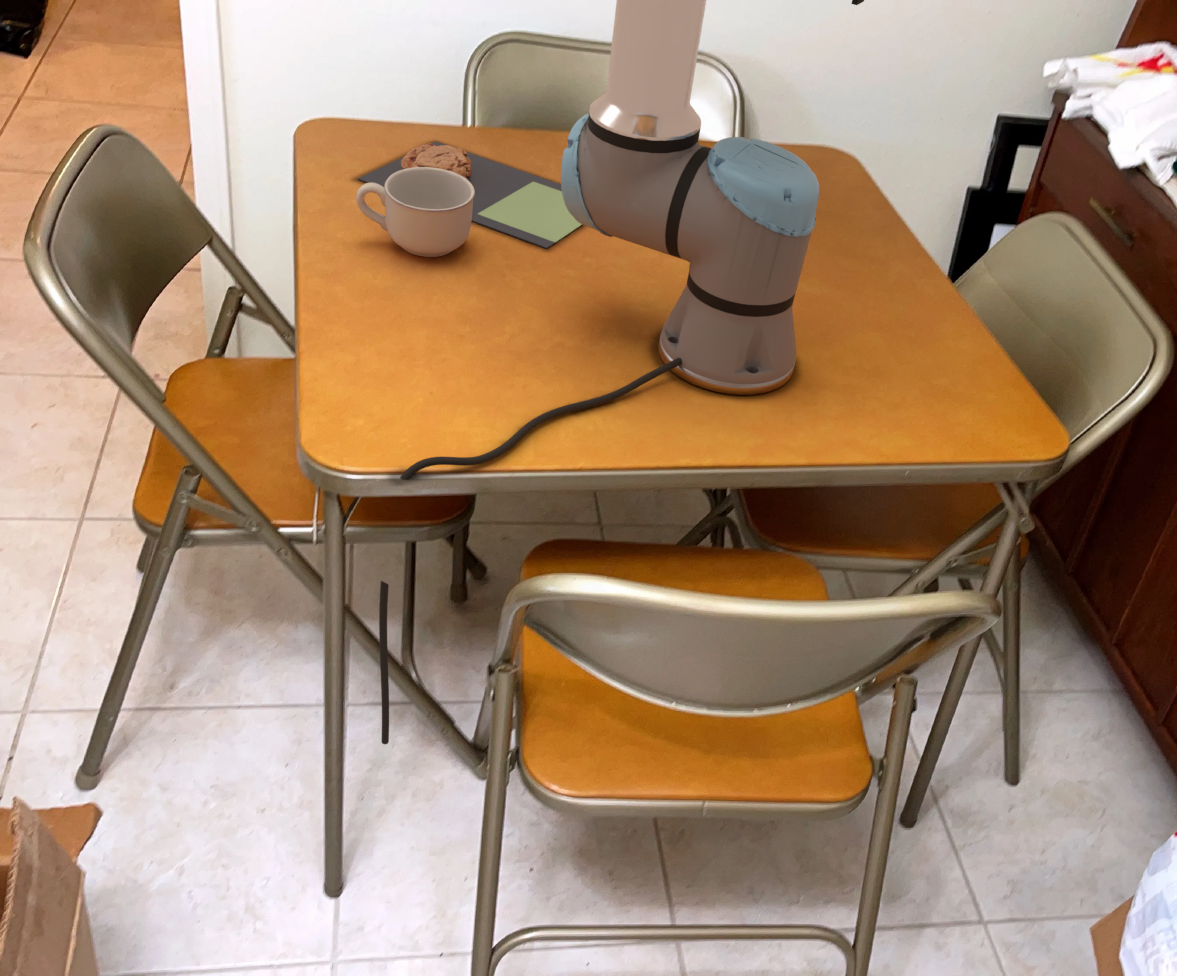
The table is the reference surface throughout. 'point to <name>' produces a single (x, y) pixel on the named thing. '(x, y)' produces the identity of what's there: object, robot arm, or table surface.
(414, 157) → the cookie
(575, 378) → the table surface
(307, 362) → the table surface
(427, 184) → the teacup
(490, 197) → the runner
